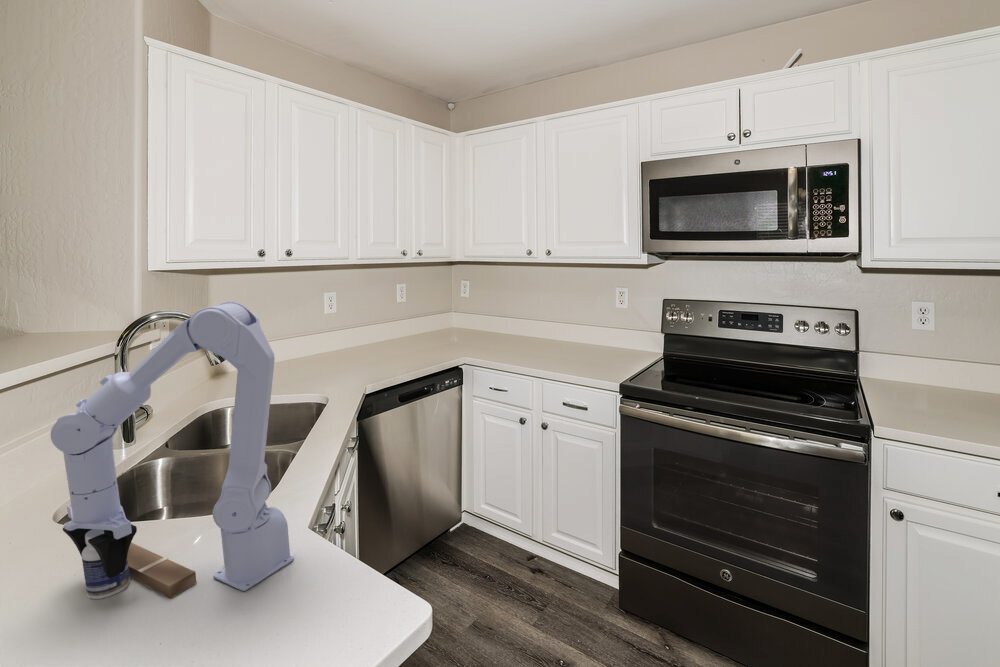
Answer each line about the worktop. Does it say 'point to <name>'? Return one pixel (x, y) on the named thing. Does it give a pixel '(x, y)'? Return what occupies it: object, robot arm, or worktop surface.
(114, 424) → the robot arm
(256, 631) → the worktop surface
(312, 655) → the worktop surface
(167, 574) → the striped brown wooden bar
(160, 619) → the worktop surface
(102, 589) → the pill bottle
